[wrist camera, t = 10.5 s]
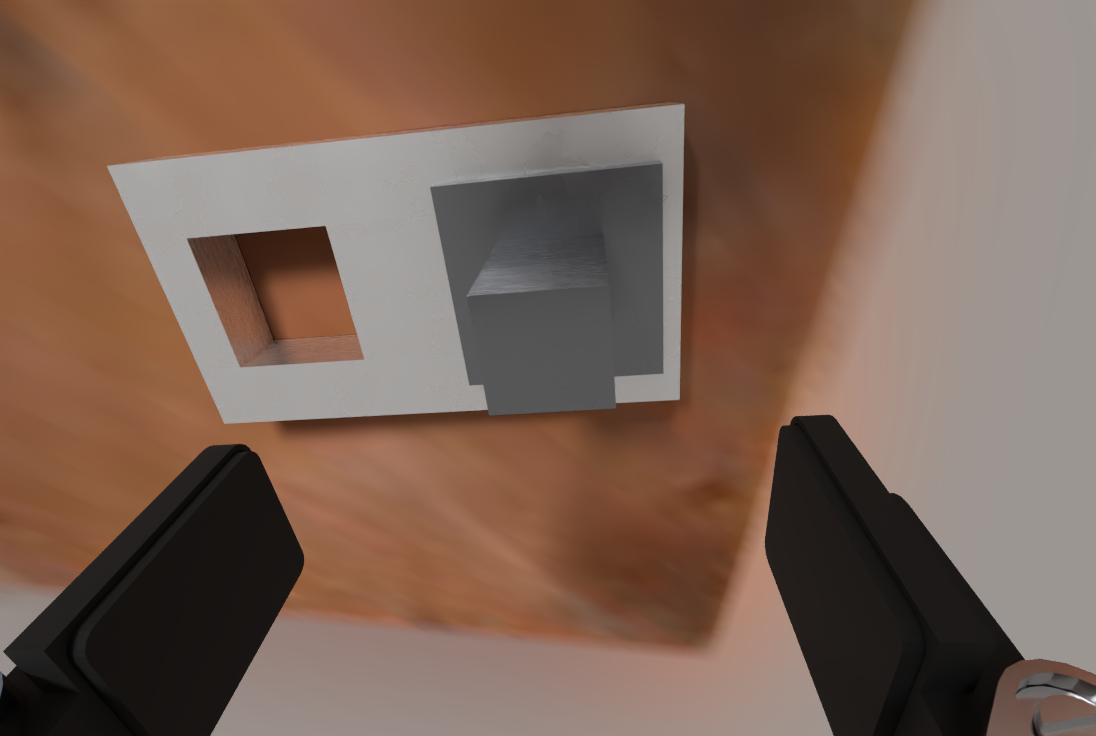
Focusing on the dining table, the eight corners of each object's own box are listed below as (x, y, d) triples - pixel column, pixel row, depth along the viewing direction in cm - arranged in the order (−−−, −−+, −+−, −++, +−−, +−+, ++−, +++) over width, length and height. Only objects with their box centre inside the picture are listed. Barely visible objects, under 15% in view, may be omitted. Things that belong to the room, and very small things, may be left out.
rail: (161, 157, 23) (107, 166, 21) (672, 101, 21) (684, 103, 18) (257, 392, 29) (224, 423, 26) (670, 368, 27) (679, 399, 24)
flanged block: (450, 173, 22) (372, 224, 14) (651, 152, 22) (693, 194, 13) (482, 351, 26) (435, 473, 18) (654, 339, 25) (687, 462, 17)
